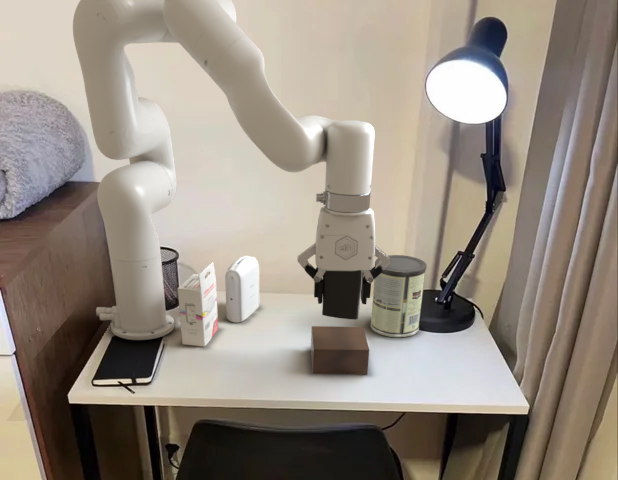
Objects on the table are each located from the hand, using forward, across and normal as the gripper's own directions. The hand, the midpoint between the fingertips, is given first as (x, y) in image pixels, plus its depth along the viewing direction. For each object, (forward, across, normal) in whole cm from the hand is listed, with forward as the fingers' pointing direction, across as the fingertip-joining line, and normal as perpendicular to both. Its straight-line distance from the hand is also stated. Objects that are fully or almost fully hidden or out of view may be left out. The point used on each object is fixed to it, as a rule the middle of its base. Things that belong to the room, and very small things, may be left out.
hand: (341, 300), depth 119 cm
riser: (+12, 0, 0) cm, 12 cm away
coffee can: (+13, +13, +16) cm, 24 cm away
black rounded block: (+3, 0, 0) cm, 3 cm away
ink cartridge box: (+12, -27, +10) cm, 31 cm away
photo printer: (+12, -19, +22) cm, 32 cm away
